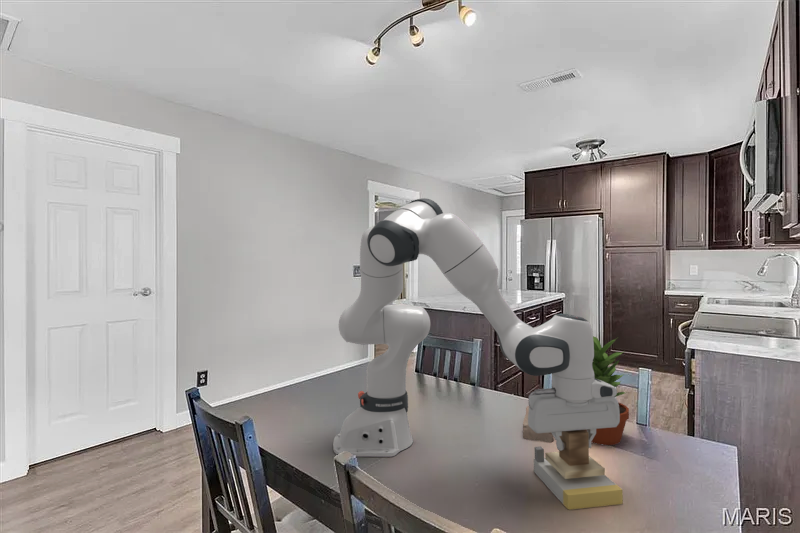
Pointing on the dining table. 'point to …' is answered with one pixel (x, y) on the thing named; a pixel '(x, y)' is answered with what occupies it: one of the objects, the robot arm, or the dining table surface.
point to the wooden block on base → (575, 457)
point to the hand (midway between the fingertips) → (573, 448)
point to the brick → (532, 435)
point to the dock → (577, 486)
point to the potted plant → (604, 374)
